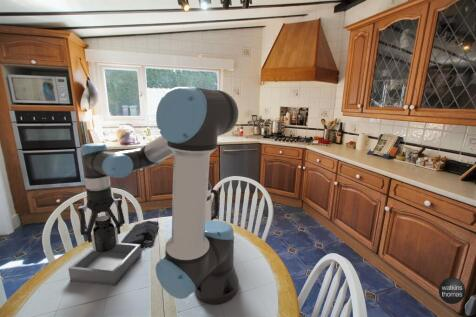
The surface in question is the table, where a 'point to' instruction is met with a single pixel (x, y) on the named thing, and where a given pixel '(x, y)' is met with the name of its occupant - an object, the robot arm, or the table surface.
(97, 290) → the table surface
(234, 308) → the table surface
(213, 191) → the coffee press
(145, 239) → the dark slate chunk
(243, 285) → the table surface
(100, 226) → the supplement bottle
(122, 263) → the bin
